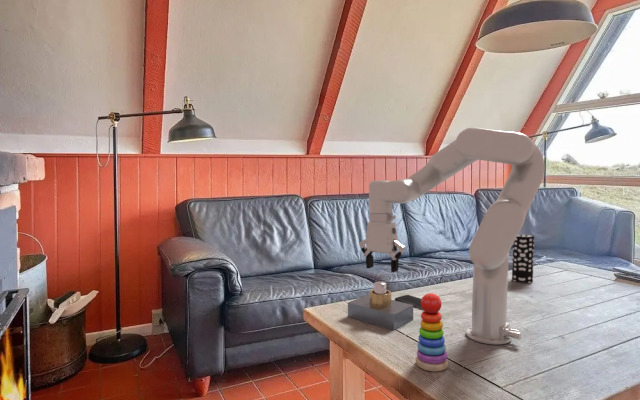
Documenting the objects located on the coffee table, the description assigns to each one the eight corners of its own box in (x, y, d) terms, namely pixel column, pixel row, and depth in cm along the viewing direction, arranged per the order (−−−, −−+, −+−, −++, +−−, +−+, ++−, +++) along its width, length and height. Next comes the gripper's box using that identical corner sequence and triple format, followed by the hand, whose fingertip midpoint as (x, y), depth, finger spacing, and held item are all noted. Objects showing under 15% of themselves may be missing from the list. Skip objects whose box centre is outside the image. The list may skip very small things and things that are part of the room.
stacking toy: (424, 355, 116) (425, 287, 114) (453, 364, 111) (454, 292, 109) (410, 366, 110) (410, 294, 108) (440, 376, 105) (441, 300, 103)
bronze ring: (395, 303, 144) (395, 291, 144) (383, 308, 139) (383, 296, 139) (377, 299, 149) (377, 287, 149) (365, 304, 144) (365, 292, 143)
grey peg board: (413, 319, 143) (413, 284, 142) (393, 330, 134) (394, 292, 133) (368, 308, 155) (368, 275, 154) (347, 317, 146) (347, 282, 145)
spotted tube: (507, 279, 193) (508, 234, 191) (522, 277, 195) (524, 233, 194) (521, 283, 185) (523, 237, 183) (537, 282, 187) (538, 236, 186)
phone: (407, 294, 168) (439, 304, 157) (407, 297, 169) (439, 307, 157) (393, 298, 164) (425, 308, 152) (393, 301, 164) (425, 311, 152)
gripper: (410, 218, 139) (411, 270, 140) (366, 215, 150) (367, 264, 151) (397, 220, 133) (398, 275, 134) (353, 217, 145) (354, 268, 146)
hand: (382, 269), depth 143 cm, fingers open, 9 cm apart
